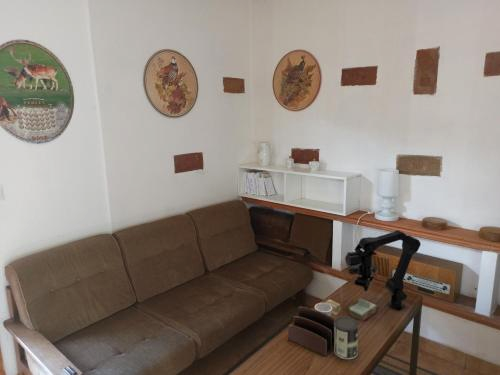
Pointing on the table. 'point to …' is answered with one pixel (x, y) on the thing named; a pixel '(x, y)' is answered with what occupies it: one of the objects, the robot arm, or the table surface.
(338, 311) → the block
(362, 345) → the table surface
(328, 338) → the letter holder
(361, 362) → the table surface
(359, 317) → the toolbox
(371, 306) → the lid
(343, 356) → the coffee can
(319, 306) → the dixie cup
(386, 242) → the robot arm
